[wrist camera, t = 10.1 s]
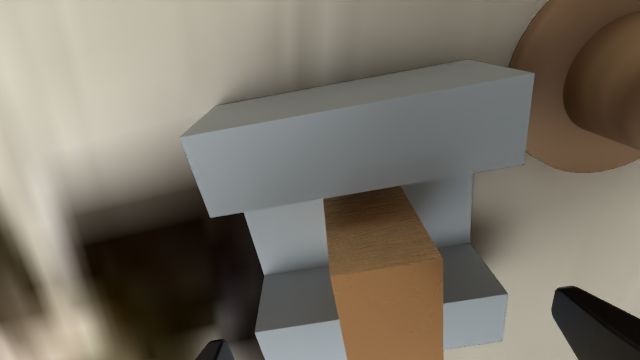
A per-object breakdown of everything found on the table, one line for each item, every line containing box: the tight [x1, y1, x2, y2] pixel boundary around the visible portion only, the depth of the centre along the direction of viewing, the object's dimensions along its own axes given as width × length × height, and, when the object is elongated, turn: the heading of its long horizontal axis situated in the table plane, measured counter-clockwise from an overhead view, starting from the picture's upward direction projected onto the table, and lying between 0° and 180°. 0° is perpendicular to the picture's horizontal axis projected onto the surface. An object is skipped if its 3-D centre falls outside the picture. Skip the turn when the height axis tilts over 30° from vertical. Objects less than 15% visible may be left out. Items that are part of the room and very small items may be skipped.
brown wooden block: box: [323, 186, 443, 360], centre depth 11 cm, size 4×3×6 cm
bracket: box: [179, 59, 535, 360], centre depth 13 cm, size 11×10×4 cm
